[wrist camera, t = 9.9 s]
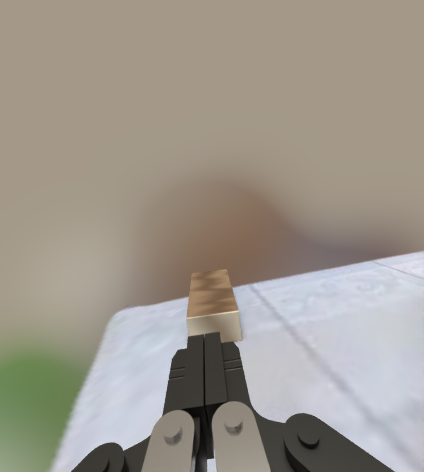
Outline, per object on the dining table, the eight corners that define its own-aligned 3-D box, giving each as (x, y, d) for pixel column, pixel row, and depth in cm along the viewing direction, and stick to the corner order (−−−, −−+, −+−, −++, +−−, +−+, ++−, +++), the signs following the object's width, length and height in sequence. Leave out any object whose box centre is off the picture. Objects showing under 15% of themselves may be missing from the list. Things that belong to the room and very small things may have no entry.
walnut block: (242, 341, 32) (229, 289, 47) (238, 311, 31) (226, 269, 46) (191, 348, 32) (195, 294, 47) (186, 319, 31) (191, 273, 46)
